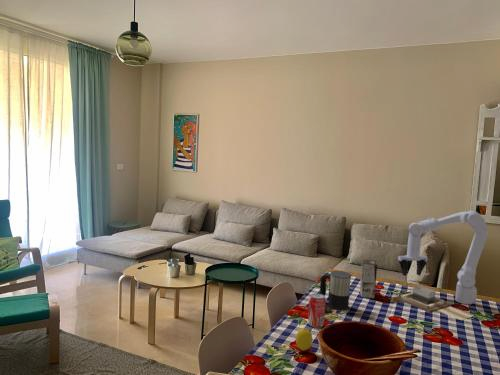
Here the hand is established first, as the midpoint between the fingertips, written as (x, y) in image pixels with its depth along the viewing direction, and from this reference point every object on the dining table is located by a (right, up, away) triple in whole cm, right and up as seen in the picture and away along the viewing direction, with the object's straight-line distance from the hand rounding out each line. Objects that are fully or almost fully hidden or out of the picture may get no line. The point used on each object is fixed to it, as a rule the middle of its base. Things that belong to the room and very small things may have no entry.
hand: (411, 275), depth 193 cm
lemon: (-61, -13, -59) cm, 85 cm away
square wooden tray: (+1, -11, -10) cm, 15 cm away
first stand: (+10, -13, -22) cm, 27 cm away
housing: (+1, -9, -11) cm, 14 cm away
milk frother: (-43, -10, -19) cm, 48 cm away
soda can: (-53, -12, -38) cm, 66 cm away
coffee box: (-22, -10, 0) cm, 24 cm away
